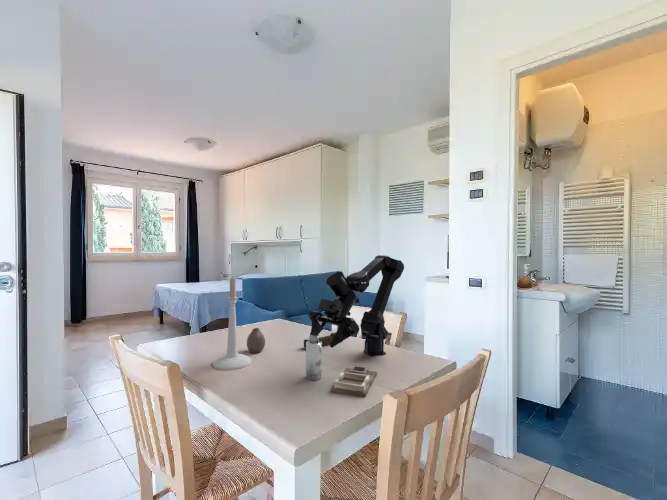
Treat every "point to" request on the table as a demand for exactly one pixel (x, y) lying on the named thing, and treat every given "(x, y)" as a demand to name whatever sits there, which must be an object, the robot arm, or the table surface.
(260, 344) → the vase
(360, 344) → the table surface
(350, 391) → the socket board
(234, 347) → the candlestick
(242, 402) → the table surface
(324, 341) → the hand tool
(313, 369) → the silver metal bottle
